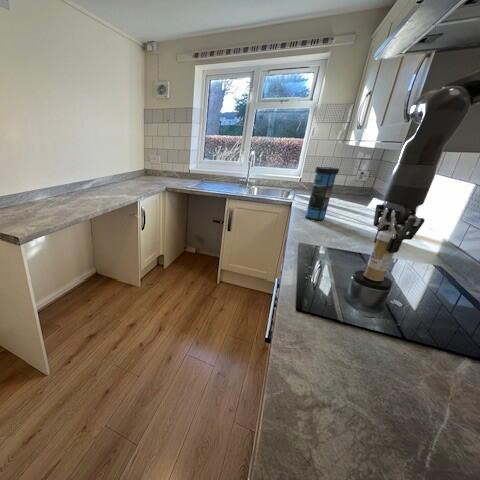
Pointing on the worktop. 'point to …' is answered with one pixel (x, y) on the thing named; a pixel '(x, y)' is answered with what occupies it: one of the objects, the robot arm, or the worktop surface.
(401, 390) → the worktop surface
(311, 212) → the advertising column
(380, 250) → the sprinkles bottle
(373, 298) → the squat metal tin
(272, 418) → the worktop surface
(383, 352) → the worktop surface
